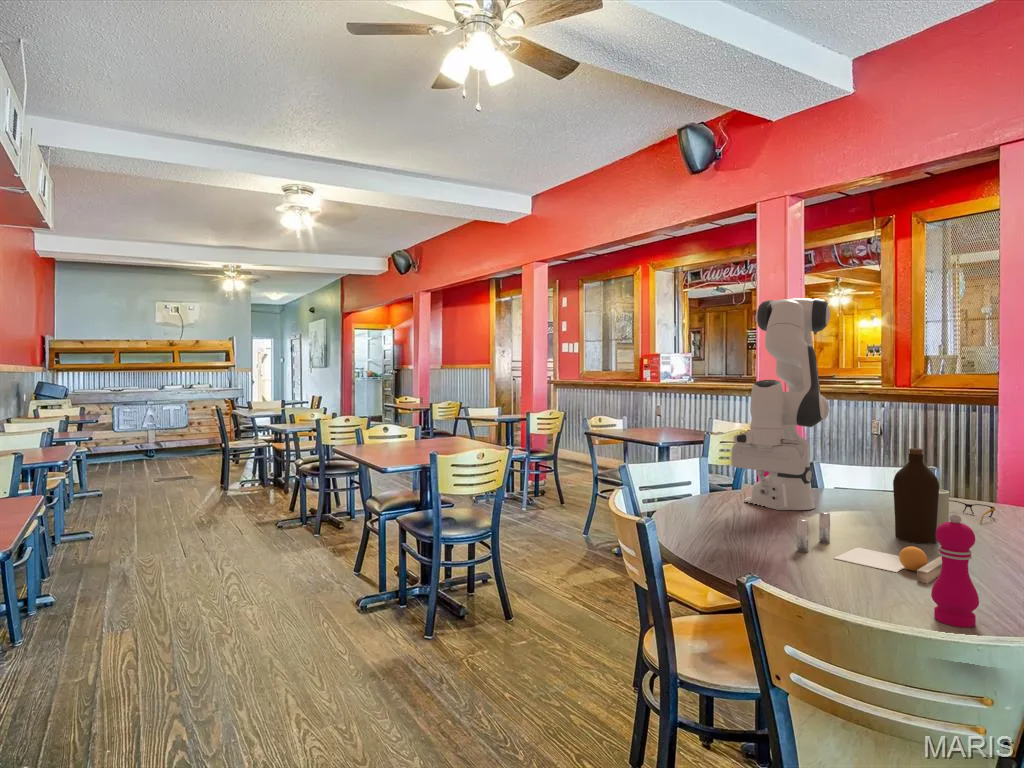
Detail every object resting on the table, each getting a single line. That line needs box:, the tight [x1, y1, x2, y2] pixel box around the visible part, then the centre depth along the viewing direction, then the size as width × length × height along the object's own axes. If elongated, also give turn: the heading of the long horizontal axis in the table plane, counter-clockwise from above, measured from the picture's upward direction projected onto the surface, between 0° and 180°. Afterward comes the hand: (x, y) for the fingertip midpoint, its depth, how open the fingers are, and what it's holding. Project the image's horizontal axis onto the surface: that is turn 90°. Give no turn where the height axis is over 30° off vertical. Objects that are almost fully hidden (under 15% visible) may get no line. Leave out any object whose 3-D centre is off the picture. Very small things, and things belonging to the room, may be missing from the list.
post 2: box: [818, 511, 831, 545], centre depth 167 cm, size 3×3×8 cm
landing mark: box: [833, 547, 906, 574], centre depth 151 cm, size 14×14×1 cm
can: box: [937, 488, 950, 528], centre depth 179 cm, size 9×9×12 cm
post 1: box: [796, 518, 809, 553], centre depth 159 cm, size 3×3×8 cm
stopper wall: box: [916, 555, 942, 584], centre depth 141 cm, size 2×20×2 cm, turn 129°
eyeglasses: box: [949, 499, 996, 525], centre depth 195 cm, size 14×14×4 cm
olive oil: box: [892, 447, 940, 544], centre depth 169 cm, size 11×11×25 cm
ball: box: [898, 546, 928, 572], centre depth 143 cm, size 6×6×6 cm
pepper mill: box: [930, 513, 980, 628], centre depth 114 cm, size 7×7×20 cm
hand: (766, 486), depth 173 cm, fingers closed
